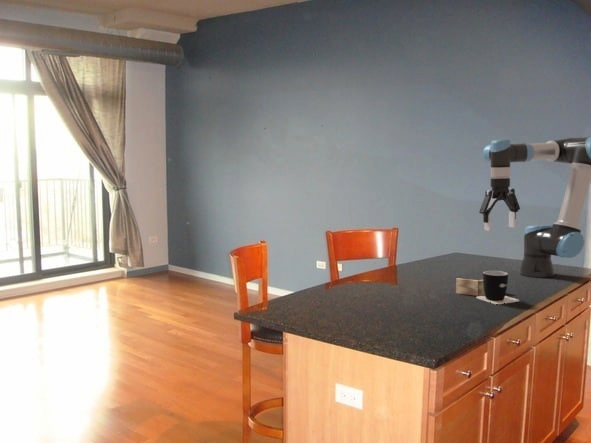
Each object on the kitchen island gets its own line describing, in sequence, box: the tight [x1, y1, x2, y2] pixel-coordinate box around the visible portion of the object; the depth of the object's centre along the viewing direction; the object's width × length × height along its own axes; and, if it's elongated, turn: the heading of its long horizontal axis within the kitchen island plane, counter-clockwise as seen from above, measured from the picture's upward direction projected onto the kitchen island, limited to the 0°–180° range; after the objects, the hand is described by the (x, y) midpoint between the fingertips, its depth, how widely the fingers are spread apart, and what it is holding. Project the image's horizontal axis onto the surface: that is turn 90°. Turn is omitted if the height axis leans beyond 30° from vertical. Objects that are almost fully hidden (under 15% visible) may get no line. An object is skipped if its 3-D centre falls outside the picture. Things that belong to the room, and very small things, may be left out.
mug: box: [482, 270, 509, 301], centre depth 221 cm, size 12×9×10 cm
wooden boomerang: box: [455, 277, 485, 297], centre depth 232 cm, size 18×8×6 cm, turn 114°
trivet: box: [476, 295, 520, 305], centre depth 221 cm, size 11×11×1 cm
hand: (499, 228), depth 238 cm, fingers open, 13 cm apart
